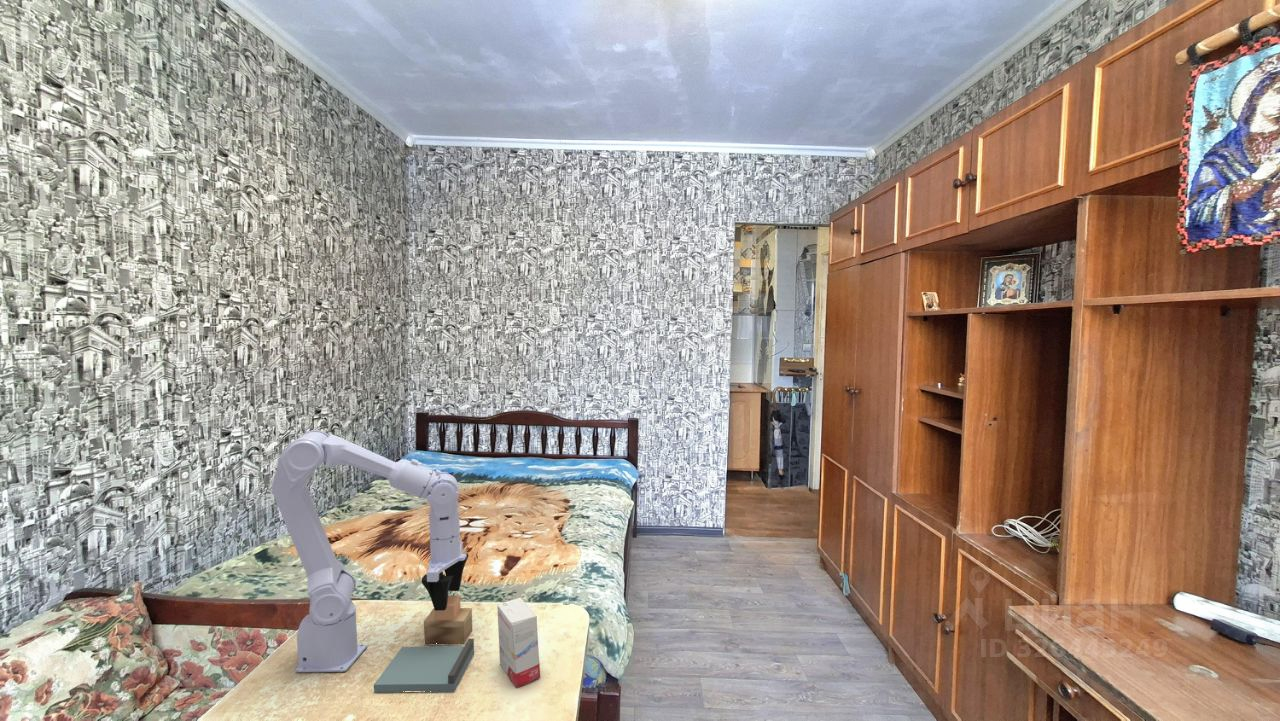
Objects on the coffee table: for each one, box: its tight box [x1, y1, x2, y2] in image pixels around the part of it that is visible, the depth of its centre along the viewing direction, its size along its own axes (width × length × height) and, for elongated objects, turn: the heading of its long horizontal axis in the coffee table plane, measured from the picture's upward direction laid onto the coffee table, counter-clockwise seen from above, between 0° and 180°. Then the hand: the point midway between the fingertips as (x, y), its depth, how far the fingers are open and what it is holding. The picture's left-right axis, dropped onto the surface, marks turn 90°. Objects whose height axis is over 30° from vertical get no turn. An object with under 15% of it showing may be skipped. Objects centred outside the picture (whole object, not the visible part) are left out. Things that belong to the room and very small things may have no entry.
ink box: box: [496, 597, 541, 688], centre depth 98 cm, size 9×5×12 cm, turn 33°
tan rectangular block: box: [423, 607, 473, 646], centre depth 109 cm, size 8×5×5 cm, turn 90°
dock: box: [373, 638, 475, 694], centre depth 98 cm, size 14×11×3 cm
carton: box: [434, 595, 462, 621], centre depth 108 cm, size 4×4×3 cm
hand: (447, 599), depth 108 cm, fingers open, 7 cm apart
